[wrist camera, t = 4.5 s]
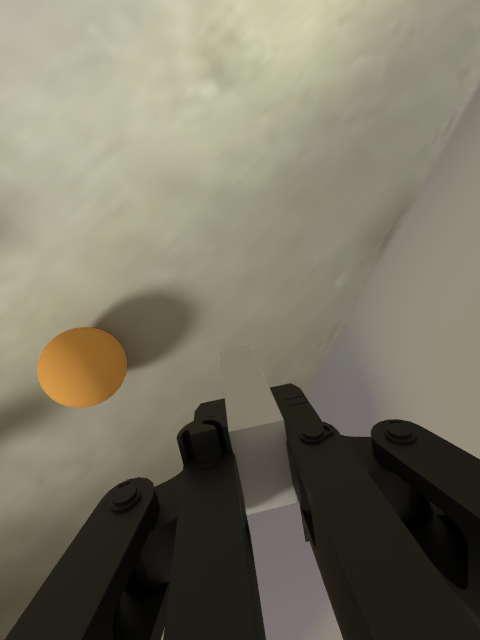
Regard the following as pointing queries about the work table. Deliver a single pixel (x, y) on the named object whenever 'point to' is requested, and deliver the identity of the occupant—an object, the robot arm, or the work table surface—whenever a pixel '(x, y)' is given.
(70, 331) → the ball
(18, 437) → the work table surface
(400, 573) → the robot arm
